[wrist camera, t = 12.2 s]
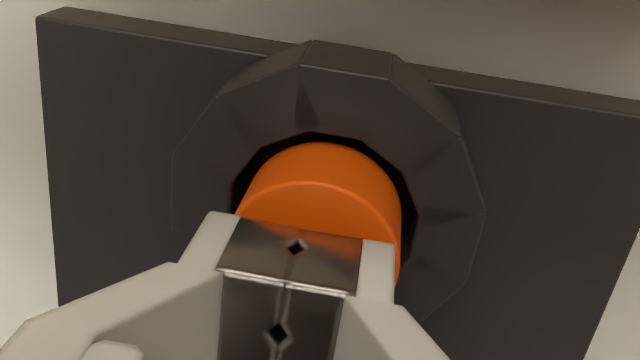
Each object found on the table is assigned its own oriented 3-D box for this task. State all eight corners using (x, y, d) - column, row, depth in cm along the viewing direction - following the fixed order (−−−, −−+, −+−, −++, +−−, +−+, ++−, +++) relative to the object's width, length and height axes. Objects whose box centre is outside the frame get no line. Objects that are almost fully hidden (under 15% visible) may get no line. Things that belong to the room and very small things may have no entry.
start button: (253, 127, 11) (228, 166, 10) (415, 155, 11) (417, 200, 9) (242, 261, 13) (218, 314, 11) (386, 288, 12) (382, 346, 11)
